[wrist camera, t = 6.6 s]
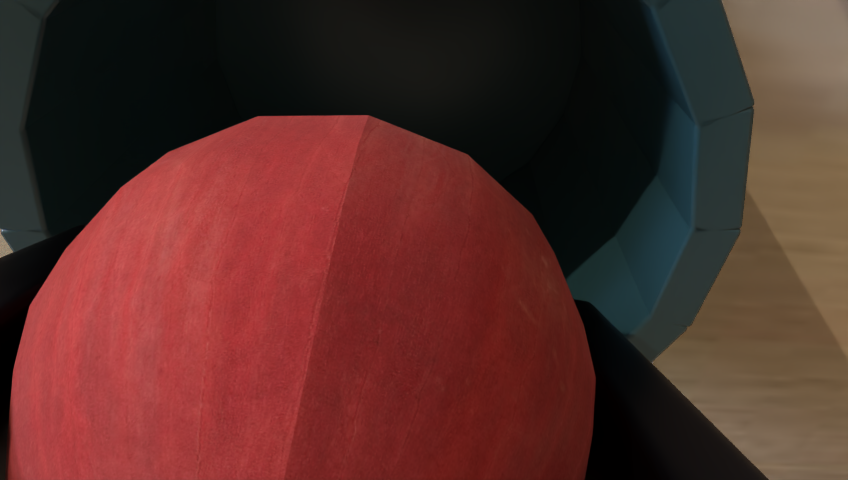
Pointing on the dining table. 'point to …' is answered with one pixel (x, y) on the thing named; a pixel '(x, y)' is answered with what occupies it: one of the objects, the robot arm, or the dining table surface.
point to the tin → (412, 115)
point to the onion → (305, 321)
